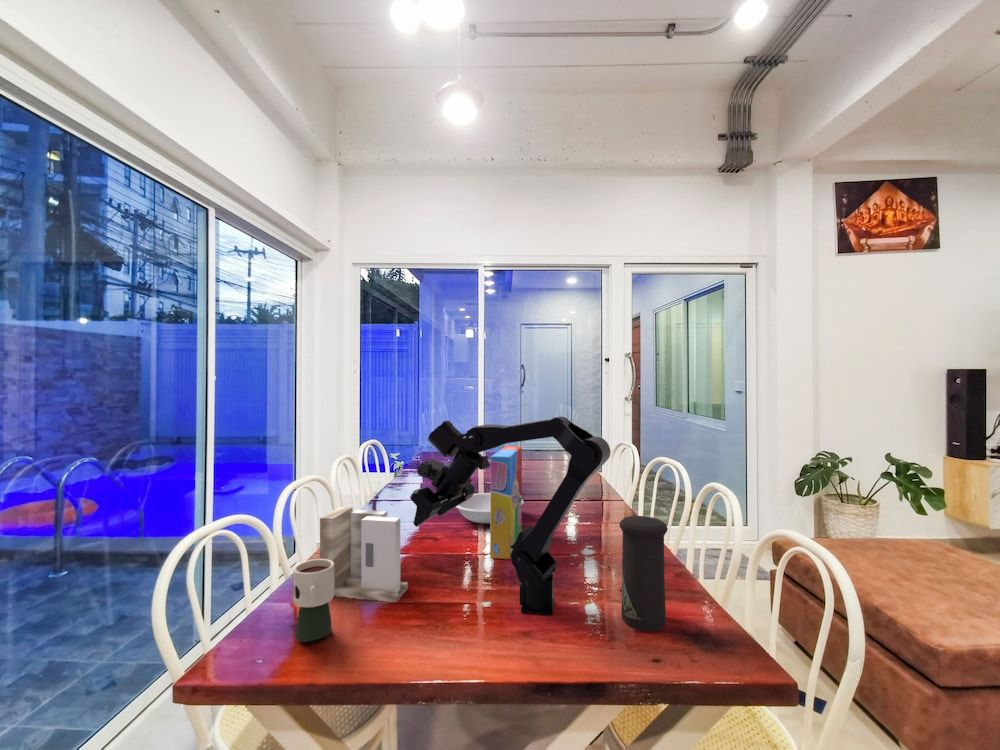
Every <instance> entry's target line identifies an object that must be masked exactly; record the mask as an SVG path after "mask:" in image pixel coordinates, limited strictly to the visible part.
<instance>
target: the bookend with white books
mask: <svg viewBox="0 0 1000 750" xmlns="http://www.w3.org/2000/svg"><path fill="white" fill-rule="evenodd" d="M366 516H375V517H388V511H387V510H373V509H372V510H370V509H354V510H353V507H347V506H340V507H338V508H336V509H335V510H332V511H331V512H328V513H327V514H325V515H324V516H323V515H322V516H321V517H320V518H319V559H329V560H331V561H333V562H334V596H336V597H335V598H341V597H347V598H346V599H352V598H356V599H355V600H364V599H367V600H366V601H375V600H377V602H378V601H379V602H388V603H389V602H390V603H397V602H398V601H399V600H400V599H401V597H402V596H403V595H404V594H405V593H406V591H408V586H409V585H408V584H409V583H408V581H400V590H399V592H398V593H396V592H384V591H372V590H361V520H362V519H363V518H365V517H366Z"/></svg>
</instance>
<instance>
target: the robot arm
mask: <svg viewBox="0 0 1000 750" xmlns="http://www.w3.org/2000/svg"><path fill="white" fill-rule="evenodd" d="M547 438H553V439H555V440H556V441H557V443H558V444H559V445H560V446H561V447H562V448H563V449H564V450H565V451H566V452H567V453H568V454H569V455H571V456H570V459H569V461H568V466H567V469H566V470H567V471H566V475H565V476H564V477H563V480H562V481H561V483H560V484H559V486H558V487H557V489H556V491H555V492H554V494H553V496H552V497H551V499H550V501H549V502H548V504H547V505H546V507H545V508H544V511H543V513H542V514H541V516H540V517H539V519H538V520H537V522H536V523H535V525H532V524H529V525H528V526H527V527H525V528H524V529H522V531H521V532H520V533H519V535H518V537H517V540H516V542H515V543H514V545H512V546H511V547H510V548H512V549H513V550H512V552H511V555H510V559H511V564H512V567H514V569H515V571H516V576H517V578H518V582H519V605H520V606H521V608H520V612H521V613H523V614H524V613H527V614H535V615H537V614H538V615H550V616H552V615H553V613H554V609H555V608H554V607H555V598H554V574H553V573H555V572H556V570H557V568H558V566H559V565H558V561H557V560H556V559H555V558H554V557H553V555H552V554H551V552H550V548H551V545H552V542H553V536H554V534H555V533H556V530H557V529H558V528H559V526H560V524H561V523H562V521H563V519H564V518H565V516H566V515H567V513H568V512H569V510H570V508H571V506H573V503H574V502H575V500H576V499H577V498H578V495H579V494H580V492H581V491H582V489H583V488H584V487H585V484H586V483H588V481H589V480H590V479H591V478H592V477H593V476H594V475H595V474H596V473H597V472H598V471H599V470H600V469H601V468H602V467H603V465H604V464H605V463H606V462H607V461H608V460H609V459H610V456H611V448H610V445H609V443H608V442H607V440H605V439H604V438H602V437H600V436H594V435H593V434H591V432H589V431H587V430H586V429H583V428H582V427H580V426H578V425H576V424H574V423H573V422H572V421H571V420H569V419H568V418H567V417H565V416H556V417H551V418H550V419H544V420H543V419H542V420H537V421H532V422H525V423H518V424H514V425H513V424H511V425H502V424H488V423H487V424H482V425H476V426H471V427H470V428H468V429H467V431H466V433H462V432H460V431H459V430H458V428H456V427H455V426H454V425H453V423H452V422H451V421H450V420H444V421H442V423H441V424H440V425H438V426H437V427H435V429H433V431H431V432H430V433H429V435H428V438H427V441H428V443H430V445H432V447H434V448H435V449H436V450H437V452H439V453H440V454H441V455H442V456H443V457H444V458H448V457H450V458H452V460H451V461H450V463H449V464H448V466H447V465H446V464H443V463H442V462H440V461H437V460H435V459H429V460H423V461H422V462H420V463H419V466H417V467H416V469H417V475H418V476H420V477H422V478H424V479H425V478H426V479H428V480H429V481H431V483H430V484H431V485H432V486H433V488H435V490H436V492H433V490H431V488H430V487H429V486H424V487H420V488H417V489H415V490H413V491H412V493H411V495H410V496H409V498H410V499H409V500H411V501H412V502H413V503H414V505H415V506H416V510H415V513H414V514H415V515H414V519H413V525H414V526H415V527H416V528H417V527H419V526H420V525H422V524H424V523H425V522H426V521H428V520H430V519H431V518H433V517H434V516H435V515H437V516H439V517H442V516H443V515H445V514H446V513H447V512H450V511H451V510H453V509H455V508H456V506H458V505H460V504H461V503H463V502H465V501H467V499H469V498H471V497H472V496H473V494H476V492H475V491H476V490H475V486H473V484H471V483H472V481H473V479H471V478H472V476H473V475H474V474H475V472H476V471H477V469H479V470H484V469H487V468H490V467H491V464H490V462H489V460H488V458H489V457H488V455H482V454H481V453H483V452H487V451H489V450H494V449H496V448H498V447H501V446H504V445H507V444H511V443H518V442H525V441H532V440H537V439H539V440H540V439H547Z"/></svg>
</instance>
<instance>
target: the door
mask: <svg viewBox="0 0 1000 750" xmlns="http://www.w3.org/2000/svg"><path fill="white" fill-rule="evenodd" d="M400 582H401V517H393V516H392V517H391V516H387V517H375V516H366V517H365V518H363V519H362V520H361V590H372V591H384V592H396V593H398V592H399V590H400Z"/></svg>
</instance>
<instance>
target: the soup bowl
mask: <svg viewBox="0 0 1000 750" xmlns="http://www.w3.org/2000/svg"><path fill="white" fill-rule="evenodd" d="M490 504H491V492H479V493H476V492H475V493H474V494H473V496H472V497H471V498H469V499H467V501H465V502H463V503H461V504H460V505H458V506H456V507H455V508H456V509H458V511H459V513H460V514H461V516H463V517H464V518H465V519H467V520H469V521H471V522H474V523H477V524H485V525H486V524H488V525H490ZM523 505H524V499H522V506H523Z"/></svg>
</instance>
